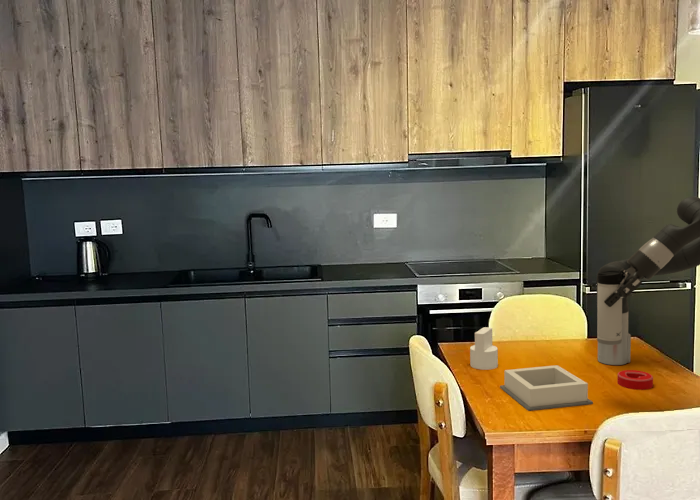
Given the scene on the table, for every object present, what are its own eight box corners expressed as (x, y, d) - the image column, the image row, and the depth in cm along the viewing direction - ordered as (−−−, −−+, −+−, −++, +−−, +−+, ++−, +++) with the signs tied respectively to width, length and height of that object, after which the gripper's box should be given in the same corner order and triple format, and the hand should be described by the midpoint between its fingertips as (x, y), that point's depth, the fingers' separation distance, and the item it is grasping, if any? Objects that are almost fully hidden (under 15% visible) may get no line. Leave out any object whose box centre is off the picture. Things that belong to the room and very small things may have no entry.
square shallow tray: (558, 381, 191) (558, 363, 191) (592, 403, 173) (593, 384, 172) (500, 387, 188) (499, 369, 187) (528, 410, 170) (528, 390, 169)
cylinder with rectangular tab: (492, 371, 204) (492, 335, 202) (466, 367, 208) (465, 332, 207) (501, 363, 211) (501, 328, 210) (475, 360, 216) (475, 326, 214)
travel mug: (625, 345, 169) (626, 272, 167) (599, 345, 171) (600, 272, 168) (620, 338, 176) (620, 268, 173) (595, 338, 177) (595, 269, 174)
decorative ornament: (623, 377, 194) (623, 367, 193) (656, 383, 187) (656, 373, 187) (613, 386, 186) (613, 376, 186) (647, 392, 180) (647, 382, 180)
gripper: (669, 272, 161) (620, 317, 165) (652, 264, 175) (607, 305, 179) (647, 252, 162) (599, 298, 165) (632, 245, 176) (588, 287, 179)
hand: (603, 301), depth 172 cm, fingers closed on travel mug, 6 cm apart
